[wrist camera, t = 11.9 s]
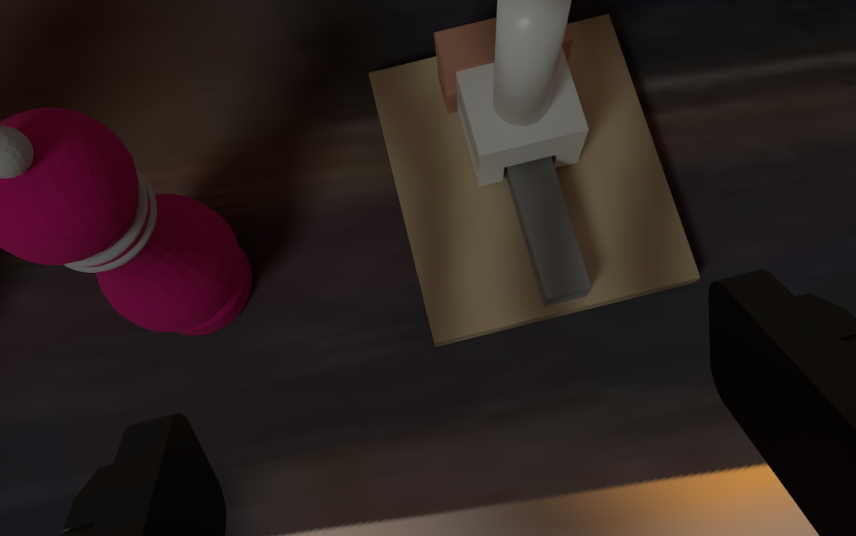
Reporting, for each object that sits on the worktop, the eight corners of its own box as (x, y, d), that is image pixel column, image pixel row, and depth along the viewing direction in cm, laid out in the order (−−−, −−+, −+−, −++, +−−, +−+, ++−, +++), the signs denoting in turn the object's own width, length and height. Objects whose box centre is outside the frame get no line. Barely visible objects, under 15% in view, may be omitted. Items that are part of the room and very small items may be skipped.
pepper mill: (122, 258, 45) (-143, 101, 26) (232, 204, 45) (54, 10, 26) (166, 366, 43) (-84, 285, 24) (280, 309, 44) (126, 184, 24)
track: (435, 346, 42) (429, 327, 36) (371, 82, 47) (355, 26, 41) (694, 282, 43) (730, 252, 37) (605, 24, 47) (624, -40, 41)
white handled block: (479, 186, 43) (481, 67, 30) (457, 109, 44) (450, -37, 32) (577, 162, 43) (621, 32, 30) (553, 85, 44) (585, -71, 32)
